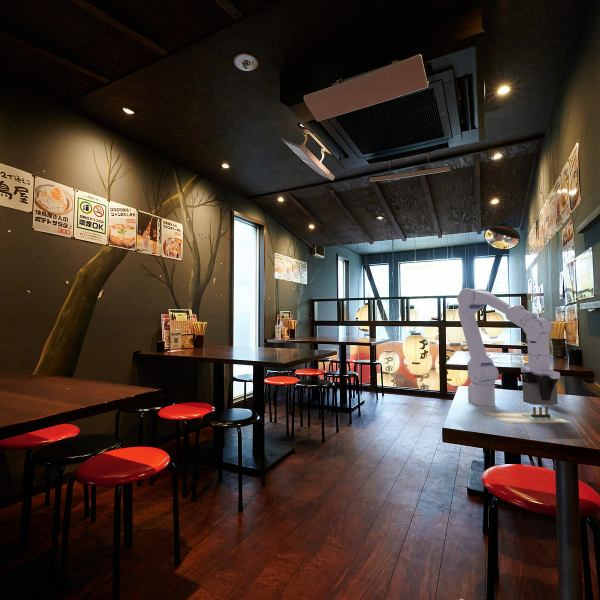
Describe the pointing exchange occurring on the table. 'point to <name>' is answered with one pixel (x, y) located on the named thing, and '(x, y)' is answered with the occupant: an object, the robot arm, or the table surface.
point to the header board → (527, 417)
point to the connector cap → (537, 395)
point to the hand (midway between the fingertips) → (540, 398)
